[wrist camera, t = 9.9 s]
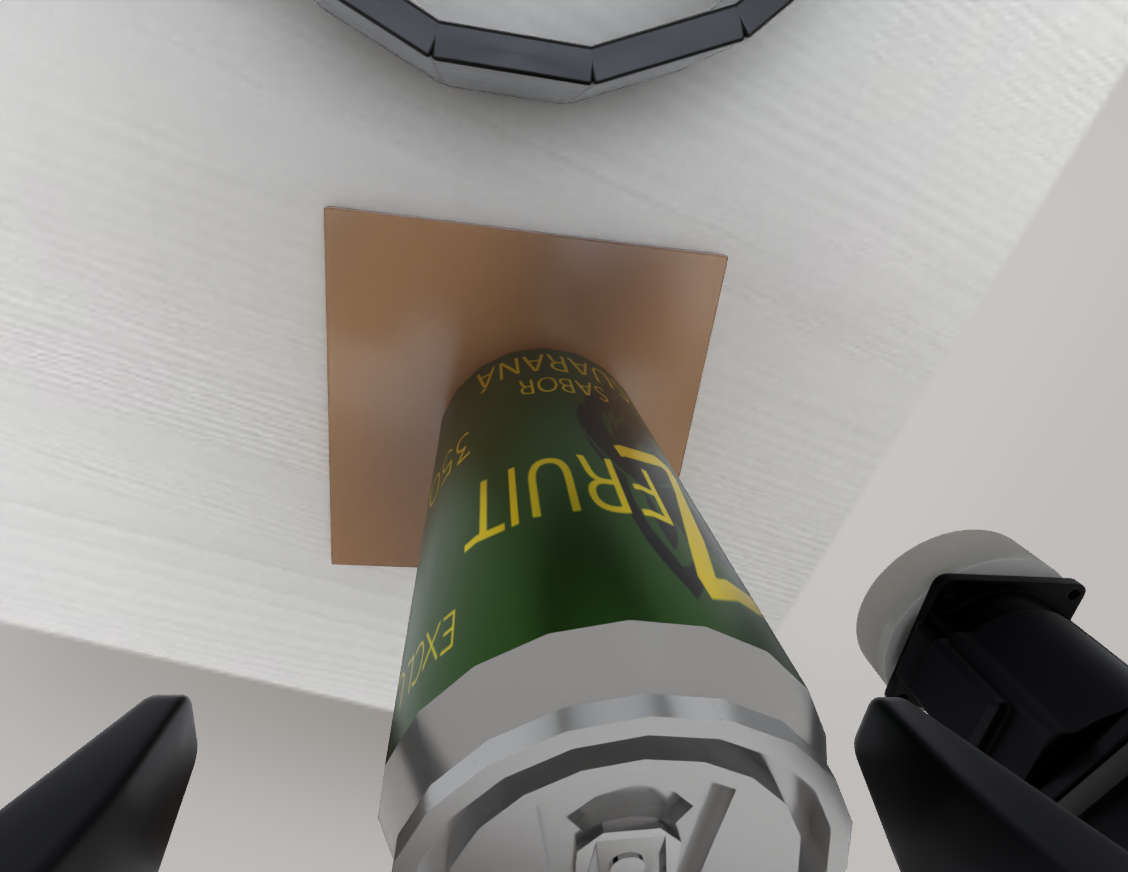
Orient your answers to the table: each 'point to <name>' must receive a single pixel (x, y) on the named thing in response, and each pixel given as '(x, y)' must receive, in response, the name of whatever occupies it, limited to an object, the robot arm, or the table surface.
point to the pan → (549, 48)
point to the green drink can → (590, 658)
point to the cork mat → (485, 346)
